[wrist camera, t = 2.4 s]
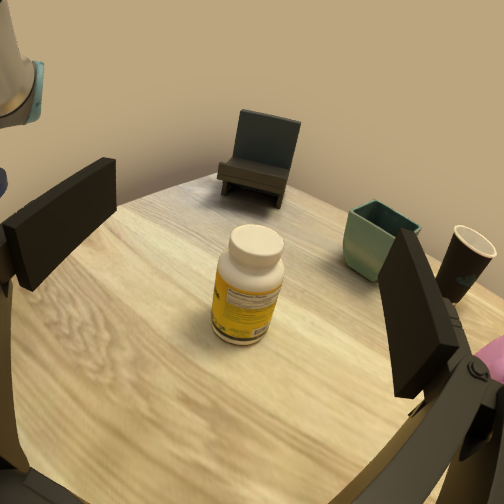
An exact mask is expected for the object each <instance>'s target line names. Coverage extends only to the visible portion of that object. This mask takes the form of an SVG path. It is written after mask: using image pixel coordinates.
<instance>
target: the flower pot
mask: <svg viewBox="0 0 504 504" xmlns="http://www.w3.org/2000/svg"><path fill="white" fill-rule="evenodd" d="M400 227H401V228H404V229H407V230H410V231H414V232H415V233H416V236H417V235H418V234H419V232H420V230H421V228H422V227H421V226H420V225H418V224H417V223H415V222H414V221H412V220H410V219H409V218H406V217H405V216H404V215H402V214H400V213H399V212H397V211H395V210H394V209H392V208H390V207H389V206H387V205H385V204H383V203H382V202H380V201H378V200H376V199H374V200H371V201H369V202H367V203H365V204H362V205H360V206H358V207H355V208H352V209H350V210H349V214H348V219H347V223H346V228H345V233H344V238H343V253H344V258H345V261H346V264H347V265H348V266H349V267H351V268H352V269H354V270H355V271H357V272H358V273H360V274H361V275H363V276H364V277H365V278H367V279H368V280H370V281H371V282H374V281H376V280H378V278H377V276H378V274H379V272H380V270H381V268H382V266H383V263H384V261H385V259H386V257H387V255H388V253H389V251H390V248H391V246H392V244H393V242H394V239H395V237H396V235H397V233H398V230H399V228H400Z"/></svg>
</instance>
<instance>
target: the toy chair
mask: <svg viewBox="0 0 504 504" xmlns="http://www.w3.org/2000/svg"><path fill="white" fill-rule="evenodd" d="M300 126H301V122H299V121H295V120H291V119H287V118H282V117H278V116H274V115H268V114H264V113H259V112H254V111H250V110H244V109H242V110H241V111H240V116H239V122H238V128H237V133H236V139H235V145H234V151H233V156H232V158H231V159H230V160H229V161H228V162H227V163H223V162H220V163H219V167H218V174H217V179H218V180H223V185H222V191H221V195H226V193H227V192H228V190H229V189H230V188H231V186H236V187H240V188H245V189H249V190H253V191H257V192H261V193H265V194H269V195H273V196H277V197H278V201H277V205H276V208H278V209H280V207H281V204H282V200H283V196H284V192H285V188H286V184H287V180H288V176H289V172H290V168H291V163H292V158H293V155H294V151H295V147H296V143H297V138H298V134H299V130H300Z"/></svg>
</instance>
